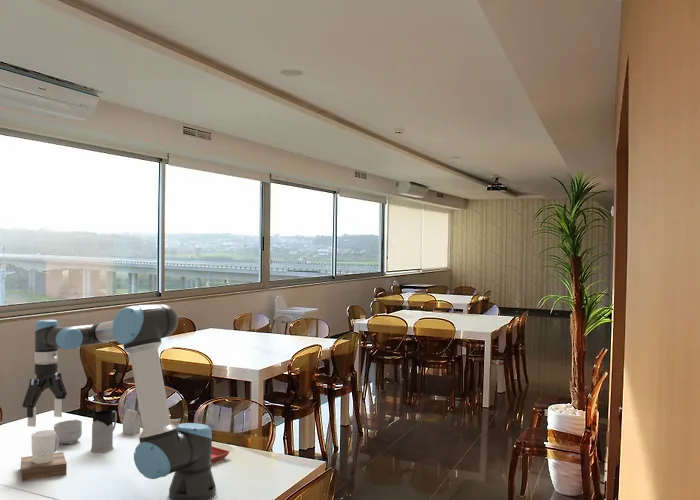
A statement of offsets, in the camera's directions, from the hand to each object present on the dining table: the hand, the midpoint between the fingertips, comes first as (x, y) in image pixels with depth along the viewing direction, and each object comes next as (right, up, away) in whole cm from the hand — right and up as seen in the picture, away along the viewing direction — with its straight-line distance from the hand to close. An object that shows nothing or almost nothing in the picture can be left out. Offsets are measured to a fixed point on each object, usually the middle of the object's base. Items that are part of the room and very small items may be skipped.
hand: (45, 421), depth 221 cm
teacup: (-8, -19, +36) cm, 42 cm away
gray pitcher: (+11, -19, +28) cm, 36 cm away
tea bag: (+13, -19, +50) cm, 55 cm away
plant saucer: (+51, -20, +16) cm, 57 cm away
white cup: (-1, -14, -1) cm, 14 cm away
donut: (-7, -18, +16) cm, 25 cm away
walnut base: (-1, -18, 0) cm, 18 cm away
